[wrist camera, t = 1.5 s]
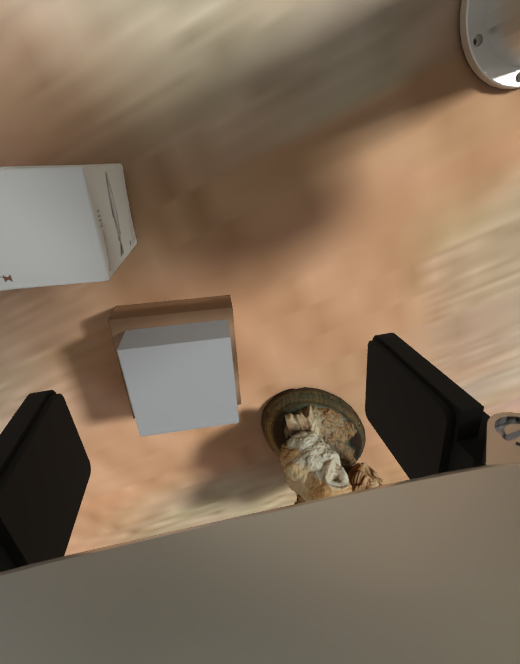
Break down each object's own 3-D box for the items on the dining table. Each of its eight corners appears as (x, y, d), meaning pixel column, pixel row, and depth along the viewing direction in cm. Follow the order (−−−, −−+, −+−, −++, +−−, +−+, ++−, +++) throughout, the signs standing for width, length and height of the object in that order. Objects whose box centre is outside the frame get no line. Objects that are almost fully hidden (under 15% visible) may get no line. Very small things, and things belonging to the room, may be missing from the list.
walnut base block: (116, 304, 38) (107, 320, 34) (229, 293, 39) (232, 307, 36) (139, 396, 43) (133, 418, 40) (238, 384, 45) (241, 404, 41)
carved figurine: (386, 432, 52) (464, 548, 36) (328, 481, 54) (377, 608, 39) (301, 367, 44) (354, 478, 29) (239, 428, 47) (257, 558, 32)
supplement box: (139, 244, 35) (111, 286, 24) (60, 249, 34) (-9, 294, 23) (125, 161, 32) (84, 164, 21) (36, 164, 31) (-57, 168, 20)
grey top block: (125, 330, 35) (117, 350, 32) (227, 319, 36) (230, 337, 33) (145, 411, 40) (140, 436, 36) (235, 399, 41) (239, 422, 37)
